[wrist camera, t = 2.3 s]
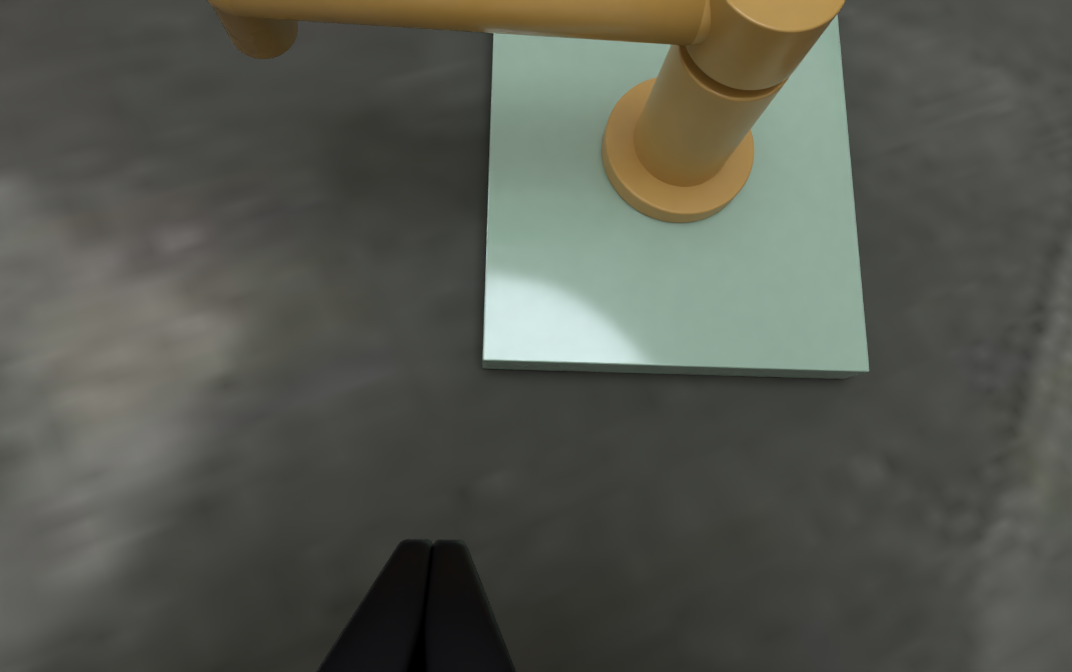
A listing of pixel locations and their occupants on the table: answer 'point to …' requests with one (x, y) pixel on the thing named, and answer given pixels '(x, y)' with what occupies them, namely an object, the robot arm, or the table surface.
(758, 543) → the table surface
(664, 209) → the tap column
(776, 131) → the tap deck
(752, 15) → the spout
